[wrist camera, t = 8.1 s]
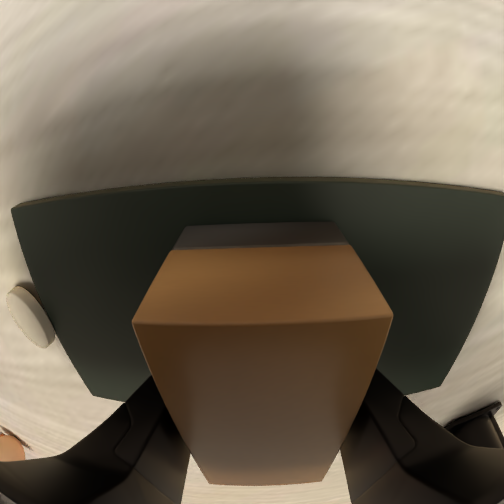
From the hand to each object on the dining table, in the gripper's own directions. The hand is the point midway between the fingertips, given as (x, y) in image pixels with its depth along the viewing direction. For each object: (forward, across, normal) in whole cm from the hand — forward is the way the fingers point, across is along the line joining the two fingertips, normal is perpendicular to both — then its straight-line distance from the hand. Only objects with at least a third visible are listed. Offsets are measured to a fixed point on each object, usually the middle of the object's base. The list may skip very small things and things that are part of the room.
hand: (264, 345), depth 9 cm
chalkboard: (+1, 0, 0) cm, 1 cm away
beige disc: (+1, +10, 0) cm, 10 cm away
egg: (+1, +34, +25) cm, 42 cm away
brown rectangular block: (0, 0, 0) cm, 0 cm away
